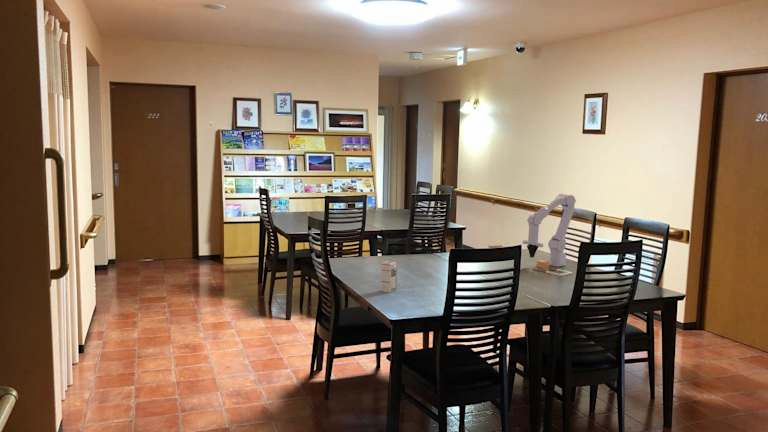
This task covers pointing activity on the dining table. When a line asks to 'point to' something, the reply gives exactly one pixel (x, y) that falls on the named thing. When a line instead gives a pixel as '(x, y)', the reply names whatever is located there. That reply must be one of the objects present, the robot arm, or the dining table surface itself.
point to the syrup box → (388, 276)
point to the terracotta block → (543, 264)
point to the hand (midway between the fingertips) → (531, 257)
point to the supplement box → (495, 246)
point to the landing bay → (560, 271)
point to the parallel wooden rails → (544, 269)
